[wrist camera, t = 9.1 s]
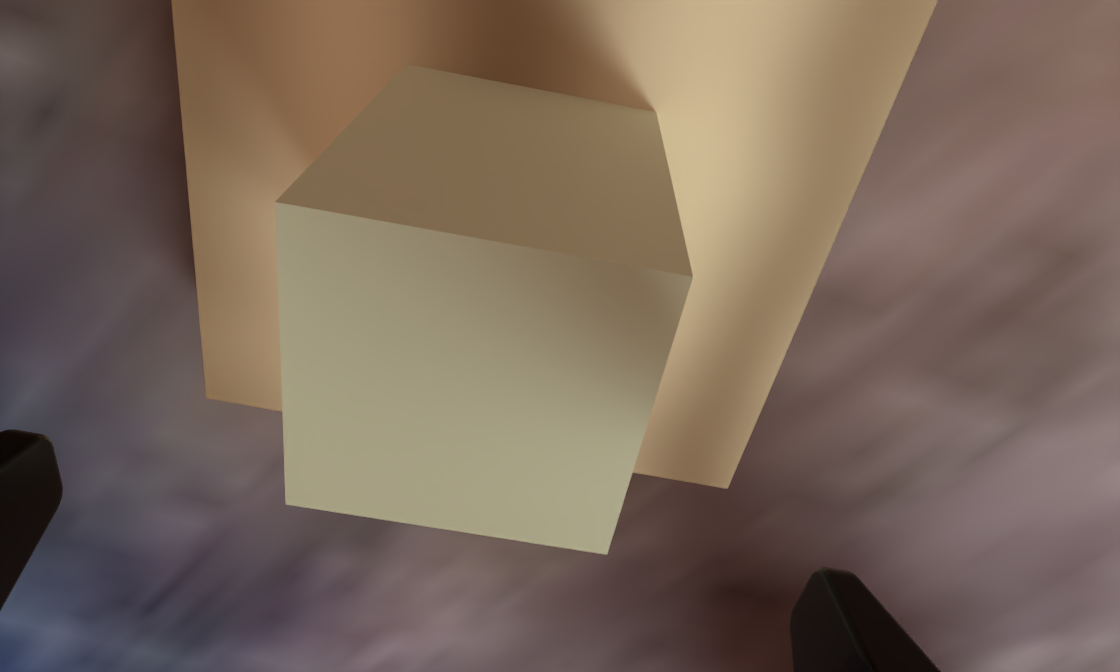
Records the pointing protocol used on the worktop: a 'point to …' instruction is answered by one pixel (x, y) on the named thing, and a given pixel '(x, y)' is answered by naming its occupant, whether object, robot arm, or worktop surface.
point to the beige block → (478, 309)
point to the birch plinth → (578, 70)
